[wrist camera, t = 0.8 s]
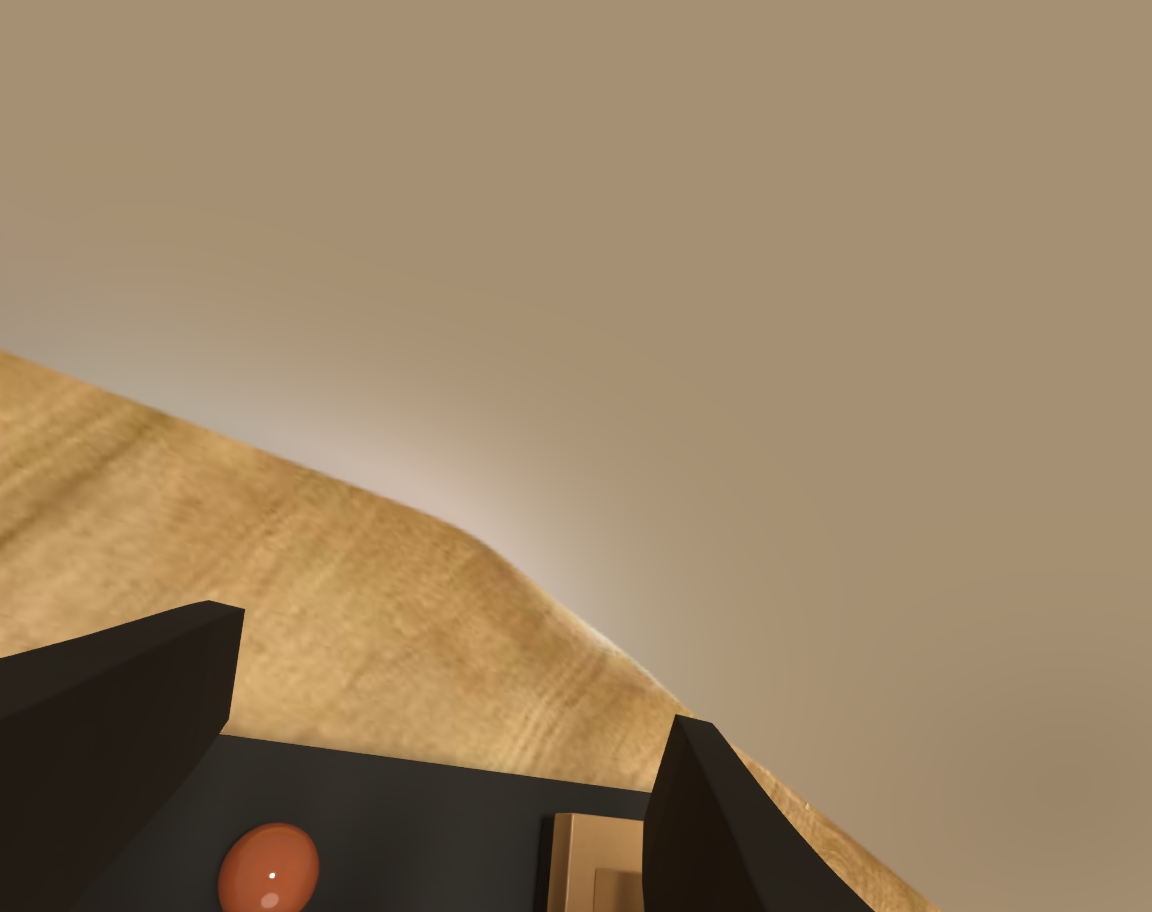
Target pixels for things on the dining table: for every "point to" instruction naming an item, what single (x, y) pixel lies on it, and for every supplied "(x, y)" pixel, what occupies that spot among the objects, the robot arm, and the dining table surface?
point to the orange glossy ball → (269, 870)
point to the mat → (353, 831)
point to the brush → (590, 864)
